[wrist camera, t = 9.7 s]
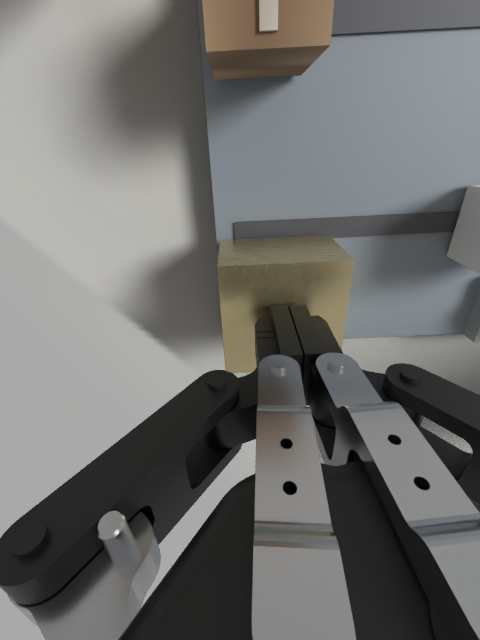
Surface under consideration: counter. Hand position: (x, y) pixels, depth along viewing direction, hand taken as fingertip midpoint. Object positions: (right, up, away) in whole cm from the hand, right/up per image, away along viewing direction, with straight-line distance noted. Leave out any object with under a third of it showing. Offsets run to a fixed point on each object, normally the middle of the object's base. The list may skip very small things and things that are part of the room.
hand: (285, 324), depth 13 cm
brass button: (0, +2, +4) cm, 4 cm away
